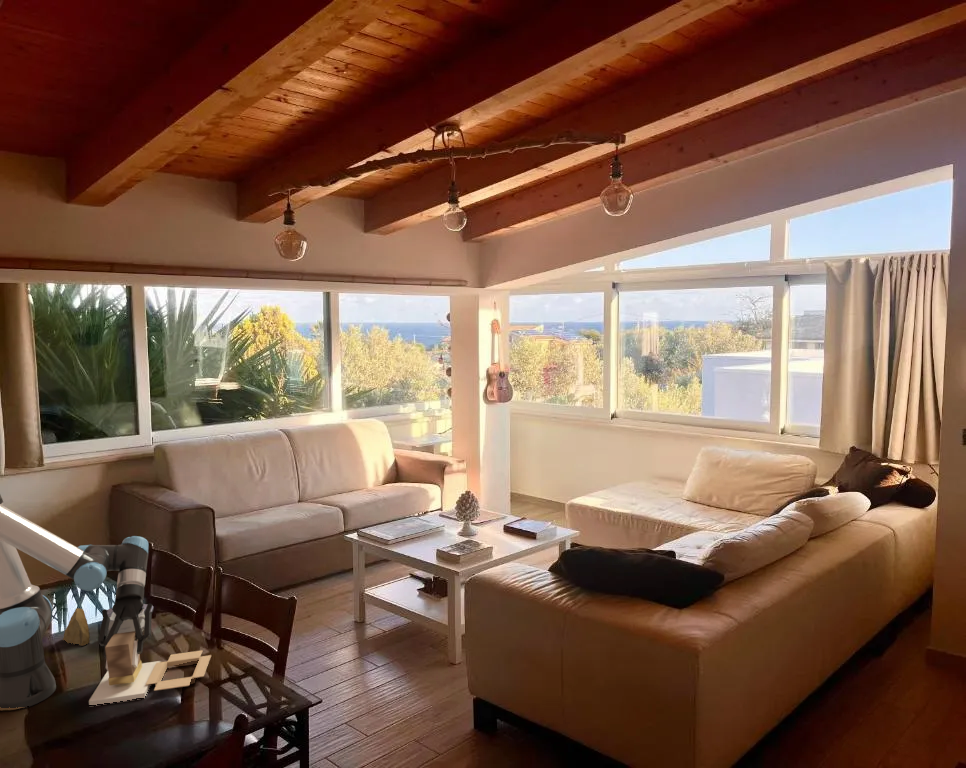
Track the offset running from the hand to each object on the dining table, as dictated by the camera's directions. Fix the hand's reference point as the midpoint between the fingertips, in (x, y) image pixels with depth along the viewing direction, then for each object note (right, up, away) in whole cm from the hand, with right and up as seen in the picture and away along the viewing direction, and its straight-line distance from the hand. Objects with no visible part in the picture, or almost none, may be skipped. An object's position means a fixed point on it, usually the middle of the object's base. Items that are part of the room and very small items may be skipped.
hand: (121, 667), depth 205 cm
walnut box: (0, -4, +3) cm, 5 cm away
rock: (-30, -4, +32) cm, 44 cm away
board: (0, -6, +3) cm, 7 cm away
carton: (+13, -5, +7) cm, 16 cm away
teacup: (-13, -3, +33) cm, 36 cm away
